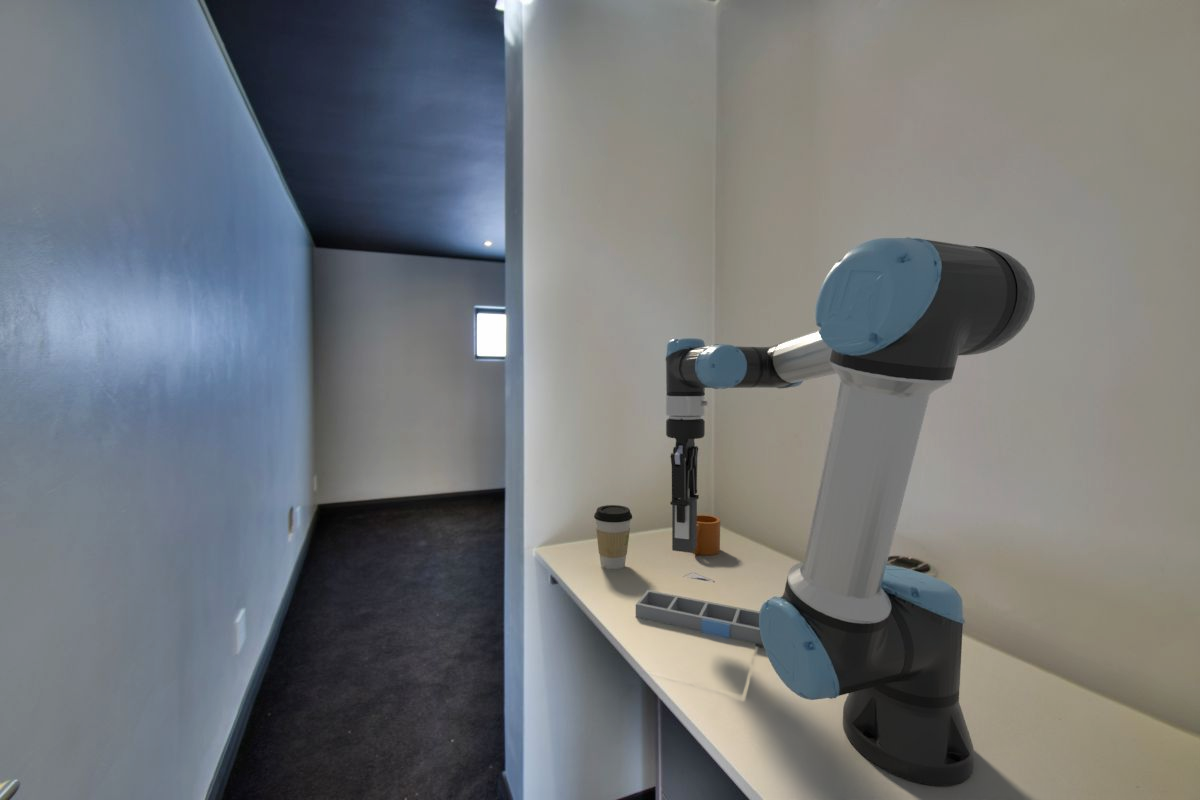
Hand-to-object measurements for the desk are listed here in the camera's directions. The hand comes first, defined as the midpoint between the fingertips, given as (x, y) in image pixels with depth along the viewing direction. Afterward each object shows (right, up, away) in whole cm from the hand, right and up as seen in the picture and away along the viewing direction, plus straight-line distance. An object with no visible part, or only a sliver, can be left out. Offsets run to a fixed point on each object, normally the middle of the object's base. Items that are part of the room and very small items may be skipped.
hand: (684, 534), depth 100 cm
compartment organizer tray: (+4, -18, 0) cm, 18 cm away
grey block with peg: (0, -3, 0) cm, 3 cm away
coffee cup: (-14, -17, +30) cm, 36 cm away
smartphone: (+3, -18, +18) cm, 25 cm away
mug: (+11, -16, +41) cm, 46 cm away
